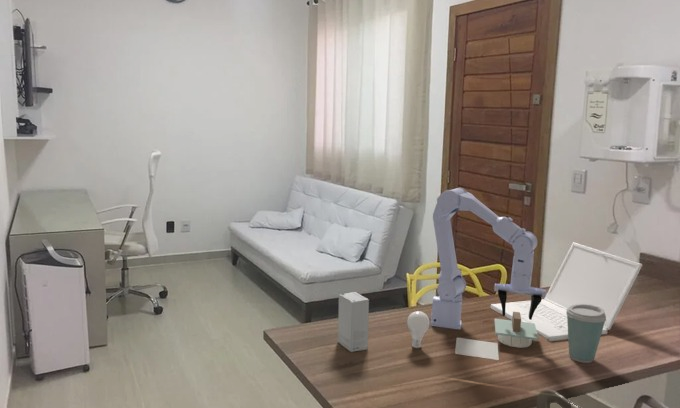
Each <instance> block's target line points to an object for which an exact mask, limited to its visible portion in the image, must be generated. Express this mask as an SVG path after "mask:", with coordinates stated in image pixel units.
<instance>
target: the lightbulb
mask: <svg viewBox="0 0 680 408" xmlns="http://www.w3.org/2000/svg"><path fill="white" fill-rule="evenodd" d="M406 320H407V321H406V323H407V327H408V329H409V331H410V333H411V334H410V335H411V338H412V339H411V340H412V341H411V346H412V348H415V349H420V348H422V340H423V338H424V335H425V333H426V331H428V329H429V327H430V325H431V320H430V317H429V316H428V315H427V313H426V312H424V311H421V310H416V311H413V312H411V313H410V314H409V315H408V317H407V319H406Z"/></svg>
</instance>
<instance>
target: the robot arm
mask: <svg viewBox="0 0 680 408" xmlns="http://www.w3.org/2000/svg"><path fill="white" fill-rule="evenodd" d="M457 211H466V212H467V211H468V212H472V213H473V214H475V215H476V216H477V217H479V218H480V219H482V220H483V221H485V222H486V223H487V224H489V225H491V226H492V227H491V228H492V231H493V232H494V233H495V234H496V235H497V236H498V237H500V238H501V239H503V240H504V241H505V242H506V243H508V244H509V245H511V246H512V250H513V251H514V252H513V256H512V257H513V258H512V267H511V276H510V283H494V287H493V289H494V292H497V295H498V299H499V301H500V303H501V305H502V314H501V315H502V317H505V306H506V303H507V298H508V297H507V296H508V295H507V293H510V294H511V293H513V294H518V295H519V294H520V295H528V296H530V300H531V306H530V311H529V319H530V320H532V316H533V314H534V312H535V310H536V308H537V306H538V305H539V304H540V302H541V300H542V299H543V298H544V299H545V297H546V295H547V290H546V289H544V288H538V287H534V286H531V284H532V276H533V269H534V260H535V259H534V258H535V257H534V256H535V249H536V248H537V246H538V243H539V242H538V238H537V236H536V235H535V234H534V233H533V232H531V231H526V230H527V229H526V228H524V227H523V228H522V227H520V226H519V225H518V224H516V223H515V222H513V221H514V220H513V218H512V217H506V216H499V215H497V214H496V213H495V212H493V210H491V209H490V208H489V207H488V206H486V204H484V203H483V202H481V201H480V200H479V199H478V198H477V197H475V196H474V195H473V193H471V192H468V191H467V190H466V189H465V188H462V187H456V188H453V189H446V190H444V191H443V192H442V193H441V194H439V196H438V197H437V198H436V204H435V207H434V210H433V213H432V222H433V227H434V234H435V241H436V247H437V254H438V261H439V266H440V272H439V274H438V278H437V279H438V284H437V290H436V291H437V294H438V296H437V295H434V296H432V297H433V298H432V306H431V313H430V326H431V327H432V326H433V327H438V328H439V327H440V328H445V329H446V328H447V329H453V330H461V329H462V320H461V319H462V308H463V307H462V306H463V293H464V292H465V291H466V288H467V282H466V280H465V278H464V277H463V275H462V270H460V268H459V267H458V261H457V260H458V259H457V255H456V248H455V240H454V235H453V228H452V222H451V218H452V217H454V215H455V214H456V213H457Z"/></svg>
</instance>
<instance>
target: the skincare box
mask: <svg viewBox="0 0 680 408" xmlns="http://www.w3.org/2000/svg"><path fill="white" fill-rule="evenodd" d="M369 306H370V299H368V298H367V297H366V296H363V295H361V294H359V292H356V291H352V292H346V293H340V294H338V314H337V315H338V319H337V320H338V325H337V327H338V328H337V329H338V330H337V342H338V343H339V344H340V345H341V346H343V348H345V349H346V350H348V351H349V352H350V353H354V352H361V351H366V350H368V348H369V317H370V316H369V312H370V311H369V309H370V307H369Z"/></svg>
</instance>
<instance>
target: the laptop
mask: <svg viewBox="0 0 680 408" xmlns="http://www.w3.org/2000/svg"><path fill="white" fill-rule="evenodd" d="M642 267H643V263H640V262H636V261H634V260H632V259H631V260H630V259H628V258H624V257H622V256H619V255H614V254H612V253H609V252H606V251H603V250H599V249H596V248H593V247H590V246H587V245H583V244H582V243H581V244H580V243H577V242H575V241H573V242H572V244H571V246H570V247H569V249H568V250H567V253H566V255H565V257H564V259H563V260H562V263H561V265H560V267H559V269H558V271H557V272H556V275H555V276H554V279H553V281H552V282H551V284H550V287H549V289H548V291H547V292H546V296H545V298H544V299H543V298H542V300H541V302H540V304H539V305H538V306H537V308H536V310H535V312H534V314H533V316H532V320H530V319H529V311H530V306H531V299H530V300H522V301H513V302H511V301H510V302H506V306H505V316H504V317H505V318H507V319H508V320H511V321H512V317H513V312H520V315H521V322H526V323H534V324H535V327H536V331H537V334H538V335H540V336H542V337H544V338H546V340H547V342H555V341H556V342H557V341H564V340H568V321H567V315H566V311H567V309H568V308H569V307H570V306H572V305H576V304H590V305H594V306H597V307H600V308H602V309H603V310H604V312H605V315H606V321H605V323H604V326H603V330H602V333H601V335H607V334H608V330H609V331H610V330H611V329H612V327H613V324H614V323H615V320H616V318H617V316H618V314H619V312H620V311H621V309H622V306H623V304H624V303H625V300H627V296H628V295H629V293H630V291H631V288H632V286H633V285H634V283H635V281H636V279H637V277H638V275H639V273H640V271H641V269H642ZM490 309H491V310H493V311H495V312H496V313H498V314H500V315H502V305H501V302H500V303H491V304H490Z"/></svg>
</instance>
